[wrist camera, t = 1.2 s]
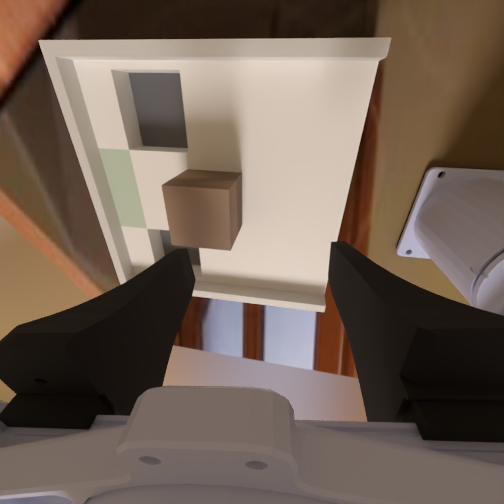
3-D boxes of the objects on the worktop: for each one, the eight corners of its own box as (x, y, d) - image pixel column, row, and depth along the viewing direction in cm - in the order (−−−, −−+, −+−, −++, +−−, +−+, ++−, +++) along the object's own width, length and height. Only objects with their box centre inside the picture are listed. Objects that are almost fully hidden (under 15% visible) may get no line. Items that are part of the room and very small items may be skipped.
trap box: (371, 51, 16) (391, 37, 13) (320, 285, 27) (324, 312, 23) (84, 51, 19) (38, 40, 15) (141, 265, 29) (121, 286, 26)
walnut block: (242, 172, 19) (228, 189, 15) (242, 224, 21) (230, 250, 18) (187, 169, 20) (161, 185, 16) (193, 220, 22) (171, 245, 18)
